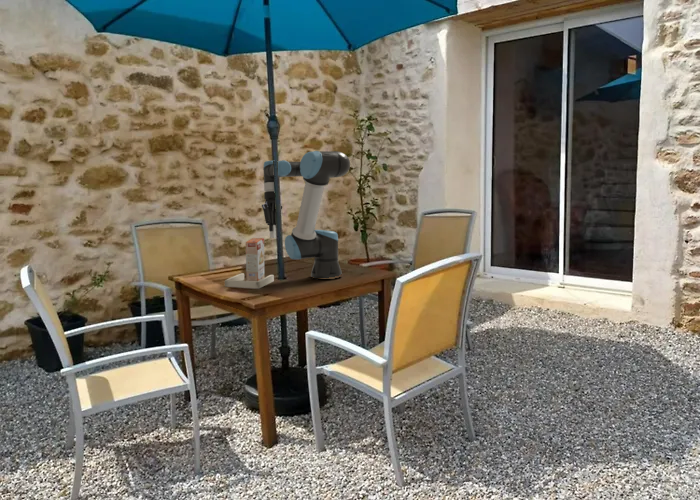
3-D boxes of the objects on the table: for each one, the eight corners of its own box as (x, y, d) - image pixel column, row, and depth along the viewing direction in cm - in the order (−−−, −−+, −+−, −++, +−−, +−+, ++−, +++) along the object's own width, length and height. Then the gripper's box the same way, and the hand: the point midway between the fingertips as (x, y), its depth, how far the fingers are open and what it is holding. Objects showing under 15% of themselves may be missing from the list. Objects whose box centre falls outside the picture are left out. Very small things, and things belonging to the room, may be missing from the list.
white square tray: (274, 281, 281) (273, 274, 280) (258, 288, 264) (258, 282, 264) (241, 279, 285) (241, 273, 285) (224, 286, 269) (224, 280, 269)
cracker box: (259, 287, 267) (257, 241, 264) (246, 287, 268) (244, 241, 264) (265, 280, 281) (264, 237, 278) (253, 280, 282) (251, 237, 278)
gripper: (275, 193, 306) (276, 238, 305) (257, 191, 296) (258, 237, 295) (285, 192, 302) (287, 237, 301) (268, 189, 291) (269, 236, 290)
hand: (273, 237), depth 298 cm, fingers closed
